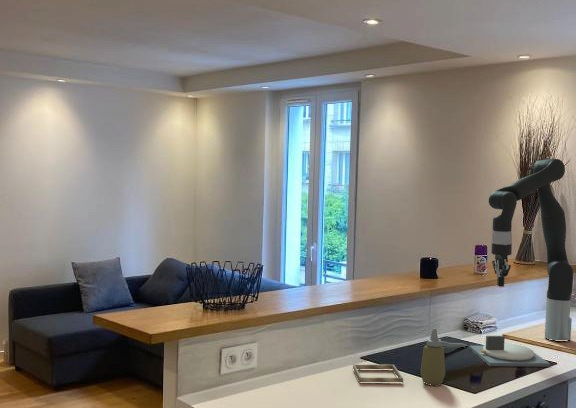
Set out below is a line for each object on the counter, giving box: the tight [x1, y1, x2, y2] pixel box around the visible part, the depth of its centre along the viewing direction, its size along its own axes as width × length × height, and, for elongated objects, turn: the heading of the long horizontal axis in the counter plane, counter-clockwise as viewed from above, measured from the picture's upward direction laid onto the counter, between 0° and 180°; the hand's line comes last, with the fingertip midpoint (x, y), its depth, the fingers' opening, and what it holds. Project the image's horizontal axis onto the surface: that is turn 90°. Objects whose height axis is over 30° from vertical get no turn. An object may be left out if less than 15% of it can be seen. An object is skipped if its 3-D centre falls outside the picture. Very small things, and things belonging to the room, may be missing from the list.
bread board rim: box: [352, 363, 404, 383], centre depth 220 cm, size 14×14×2 cm
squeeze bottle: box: [419, 328, 446, 386], centre depth 214 cm, size 8×8×18 cm
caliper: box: [438, 338, 468, 350], centre depth 254 cm, size 20×1×6 cm, turn 130°
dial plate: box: [468, 345, 551, 368], centre depth 247 cm, size 22×22×1 cm
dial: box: [481, 335, 535, 361], centre depth 246 cm, size 19×18×6 cm
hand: (500, 286), depth 258 cm, fingers closed
